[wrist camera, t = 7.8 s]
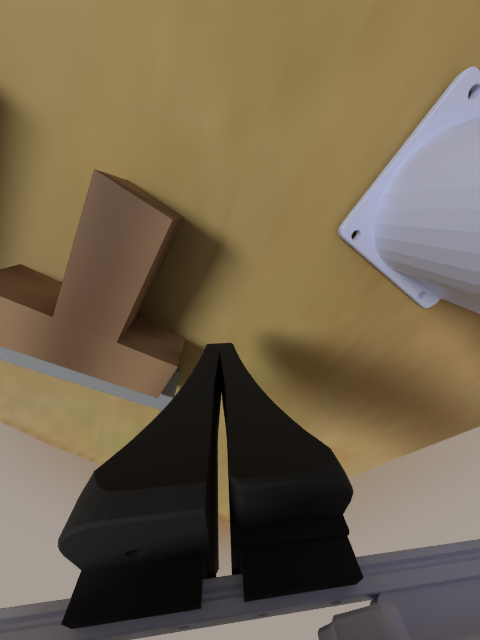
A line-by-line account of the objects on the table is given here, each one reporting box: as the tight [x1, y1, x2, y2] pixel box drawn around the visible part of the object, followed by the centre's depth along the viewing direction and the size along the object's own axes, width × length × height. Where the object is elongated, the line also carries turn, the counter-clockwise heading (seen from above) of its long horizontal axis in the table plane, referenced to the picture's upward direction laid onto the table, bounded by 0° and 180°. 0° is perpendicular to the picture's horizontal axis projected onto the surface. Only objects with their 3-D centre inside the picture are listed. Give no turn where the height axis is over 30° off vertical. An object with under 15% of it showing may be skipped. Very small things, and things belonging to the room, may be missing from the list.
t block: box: [0, 169, 185, 398], centre depth 11 cm, size 10×10×3 cm
